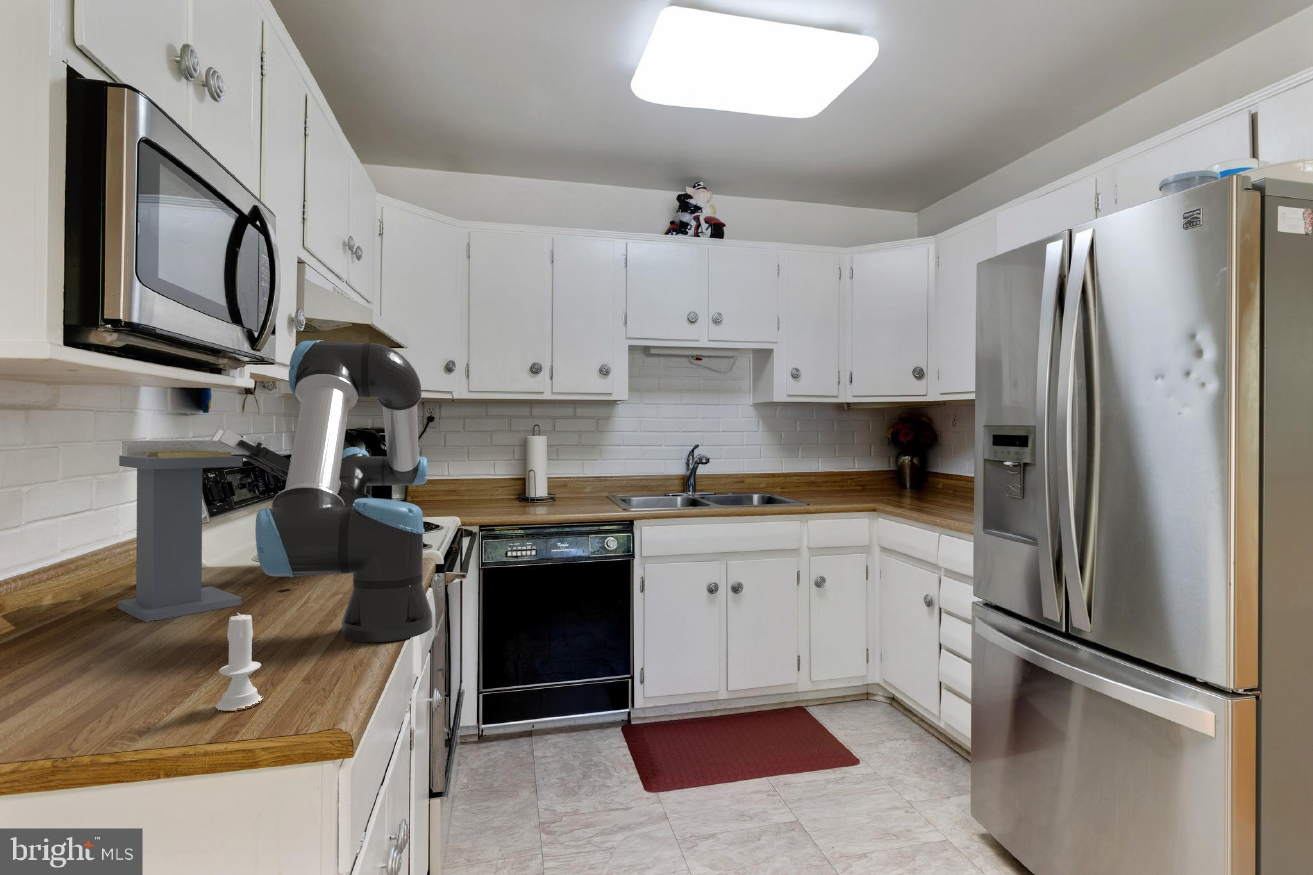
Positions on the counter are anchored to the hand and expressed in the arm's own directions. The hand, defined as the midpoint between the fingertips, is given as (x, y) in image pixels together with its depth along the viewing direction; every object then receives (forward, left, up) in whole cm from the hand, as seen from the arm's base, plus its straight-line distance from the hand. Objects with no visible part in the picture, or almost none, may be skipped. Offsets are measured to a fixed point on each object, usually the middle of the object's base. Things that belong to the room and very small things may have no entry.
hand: (219, 434), depth 142 cm
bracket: (-12, +1, -4) cm, 13 cm away
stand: (-9, +3, -34) cm, 36 cm away
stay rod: (-2, +3, -4) cm, 5 cm away
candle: (-63, -25, -34) cm, 76 cm away
